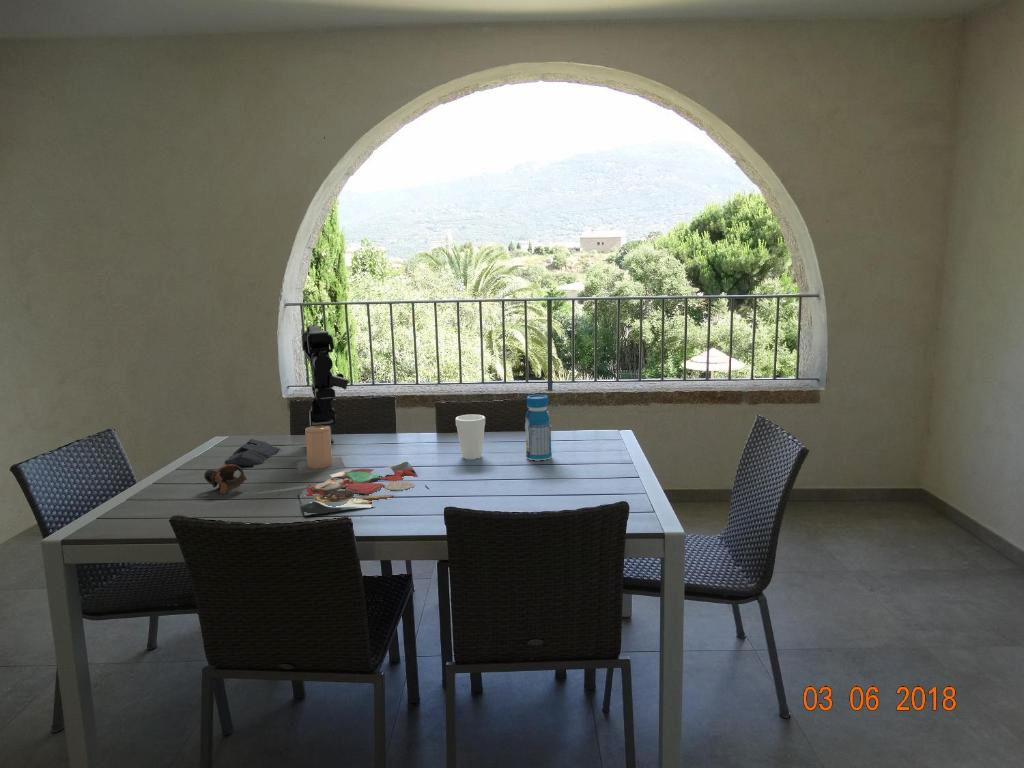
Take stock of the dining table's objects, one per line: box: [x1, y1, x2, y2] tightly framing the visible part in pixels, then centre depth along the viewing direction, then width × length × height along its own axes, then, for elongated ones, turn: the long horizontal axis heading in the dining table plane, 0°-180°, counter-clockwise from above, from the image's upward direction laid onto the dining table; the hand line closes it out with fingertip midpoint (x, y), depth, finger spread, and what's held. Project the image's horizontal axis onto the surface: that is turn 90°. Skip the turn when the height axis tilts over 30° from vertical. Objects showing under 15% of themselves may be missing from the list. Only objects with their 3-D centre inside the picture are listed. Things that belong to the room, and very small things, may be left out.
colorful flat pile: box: [300, 461, 430, 515], centre depth 209 cm, size 35×35×2 cm
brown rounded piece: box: [203, 464, 248, 495], centre depth 212 cm, size 12×10×8 cm
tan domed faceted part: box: [304, 425, 333, 468], centre depth 232 cm, size 7×7×12 cm
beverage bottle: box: [524, 394, 553, 462], centre depth 233 cm, size 8×8×20 cm
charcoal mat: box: [296, 456, 346, 474], centre depth 233 cm, size 14×14×1 cm
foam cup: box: [455, 414, 486, 460], centre depth 238 cm, size 10×9×13 cm
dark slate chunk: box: [224, 438, 281, 467], centre depth 246 cm, size 15×22×5 cm
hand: (325, 414), depth 249 cm, fingers open, 9 cm apart
